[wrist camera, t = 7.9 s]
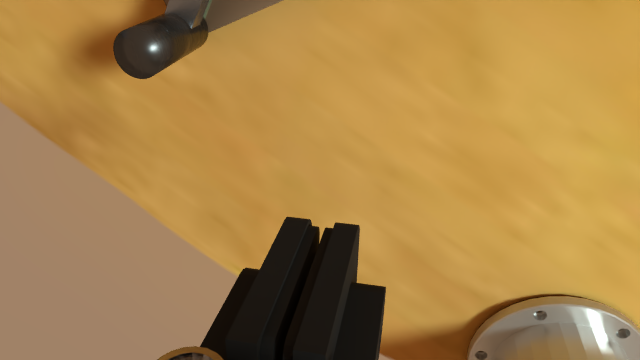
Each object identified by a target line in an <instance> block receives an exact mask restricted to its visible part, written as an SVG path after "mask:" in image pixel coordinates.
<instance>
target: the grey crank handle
mask: <svg viewBox="0 0 640 360" xmlns="http://www.w3.org/2000/svg"><path fill="white" fill-rule="evenodd" d="M208 3H209V0H169V2H168V5H167V8H166V11H165V14H162V15H160V16H157V17H155V18H153V19H150V20H148V21H145V22H143V23H140V24H138V25H135V26H133V27H130V28H128V29H126V30H123V31H122V32H120V33H119V34H118V35H117V37H116V39H115V41H114V47H113V49H114V55H115V59H116V61H117V63H118V64H119V66H120V67H121V68H122V70H123V71H124V72H126V73H127V74H128V75H130V76H132V77H135V78H138V79H147V78H150V77H152V76H154V75H155V74H157V73H158V72H160V71H162V70H163V69H165V68H167V67H168V66H170V65H171V64H173V63H175V62H176V61H178V60H180V59H181V58H183V57H184V56H186V55H188V54H189V53H191V52H193V51H194V50H196V49H197V48H199V47H201V46H202V45H203V44H204V43H205V41H206V40H207V37H208V25H207V22H206V20H205V18H204V17H203V16H204V13H205V10H206V8H207V5H208Z"/></svg>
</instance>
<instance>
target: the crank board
mask: <svg viewBox="0 0 640 360" xmlns="http://www.w3.org/2000/svg"><path fill="white" fill-rule="evenodd" d="M280 1H283V0H209V3H208V5H207V8H206V10H205V13H204V16H203V17H204V18H205V20H206V22H207V25H208V33H209V32H211V31H213V30H216V29H218V28H220V27H223V26H225V25H227V24H229V23H232V22H234V21H236V20H239V19H241V18H243V17H246V16H248V15H250V14H253V13H255V12H257V11H260V10H262V9H264V8H266V7H269V6H271V5H273V4H276V3H278V2H280ZM164 2H165V4H166V6H167V5H168V2H169V0H164Z"/></svg>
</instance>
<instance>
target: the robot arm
mask: <svg viewBox="0 0 640 360" xmlns="http://www.w3.org/2000/svg"><path fill="white" fill-rule="evenodd" d="M359 232H360V227H359V225H353V224H344V223H335V225H334V227H333V228H325V230H324V233H323V235H322V238H321V241H320V244H319V227H317V226H312V223H311V220H310V219H302V218H294V217H286V219H285V220H284V222H283V224H282V226H281V228H280V230H279V232H278V234H277V236H276V238H275V240H274V242H273V244H272V246H271V248H270V250H269V252H268V254H267V256H266V258H265V260H264V262H263V264H262V266H261V268H260V270H258V269H251V268H245V269H243V270H242V272H241V273H240V275H239V277H238V278H237V280H236V282H235V284H234V286H233V288H232V289H231V291H230V293H229V295H228V297H227V298H226V300H225V303H224V304H223V306H222V308H221V309H220V311H219V313H218V315H217V317H216V318H215V320H214V322H213V324H212V326H211V328H210V330H209V331H208V333H207V335H206V337H205V339H204V340H203V342H202V344H201V346H200V347H196V346H194V347H183V348H180V349H176V350H173V351H171V352H169V353H167V354H165V355H163V356H161V357H160V358H159V359H158V360H378V358H379V351H380V343H381V334H382V325H383V315H384V304H385V293H386V287H383V286H375V285H368V284H361V283H357V267H358V250H359ZM467 360H640V329H639V328H638V327H637V326H636V325H635V323H634V322H633V321H632V320H630V319H629V318H628V317H626V316H625V315H624V314H622V313H621V312H619V311H617V310H615V309H613V308H611V307H609V306H607V305H605V304H602V303H599V302H595V301H592V300H589V299H584V298H577V297H569V296H548V297H541V298H534V299H529V300H526V301H522V302H519V303H516V304H513V305H511V306H509V307H507V308H505V309H503V310H500V311H499V312H497V313H496V314H494V315H493V316H492V317H490V318H489V319H487V320H486V321H485V322H484V323H483V324H482V325H481V327H480V328H479V329H478V330H477V331H476V333H475V335H474V336H473V338H472V340H471V342H470V345H469V349H468V352H467Z"/></svg>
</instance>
